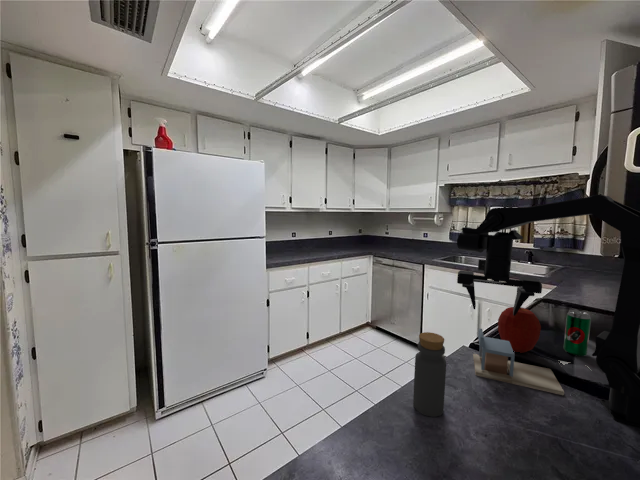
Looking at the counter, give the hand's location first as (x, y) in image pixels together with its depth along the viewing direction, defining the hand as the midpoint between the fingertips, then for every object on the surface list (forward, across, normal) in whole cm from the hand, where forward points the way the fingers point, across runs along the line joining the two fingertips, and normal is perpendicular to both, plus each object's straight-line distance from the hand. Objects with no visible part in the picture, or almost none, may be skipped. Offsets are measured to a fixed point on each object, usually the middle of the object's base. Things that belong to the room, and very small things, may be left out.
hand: (493, 311), depth 76 cm
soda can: (+13, -22, -15) cm, 30 cm away
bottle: (+13, +12, +29) cm, 34 cm away
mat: (+13, -19, -2) cm, 23 cm away
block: (+13, -1, +7) cm, 15 cm away
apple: (+13, -7, -8) cm, 17 cm away
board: (+13, -5, +7) cm, 15 cm away
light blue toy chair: (+12, 0, +7) cm, 14 cm away
